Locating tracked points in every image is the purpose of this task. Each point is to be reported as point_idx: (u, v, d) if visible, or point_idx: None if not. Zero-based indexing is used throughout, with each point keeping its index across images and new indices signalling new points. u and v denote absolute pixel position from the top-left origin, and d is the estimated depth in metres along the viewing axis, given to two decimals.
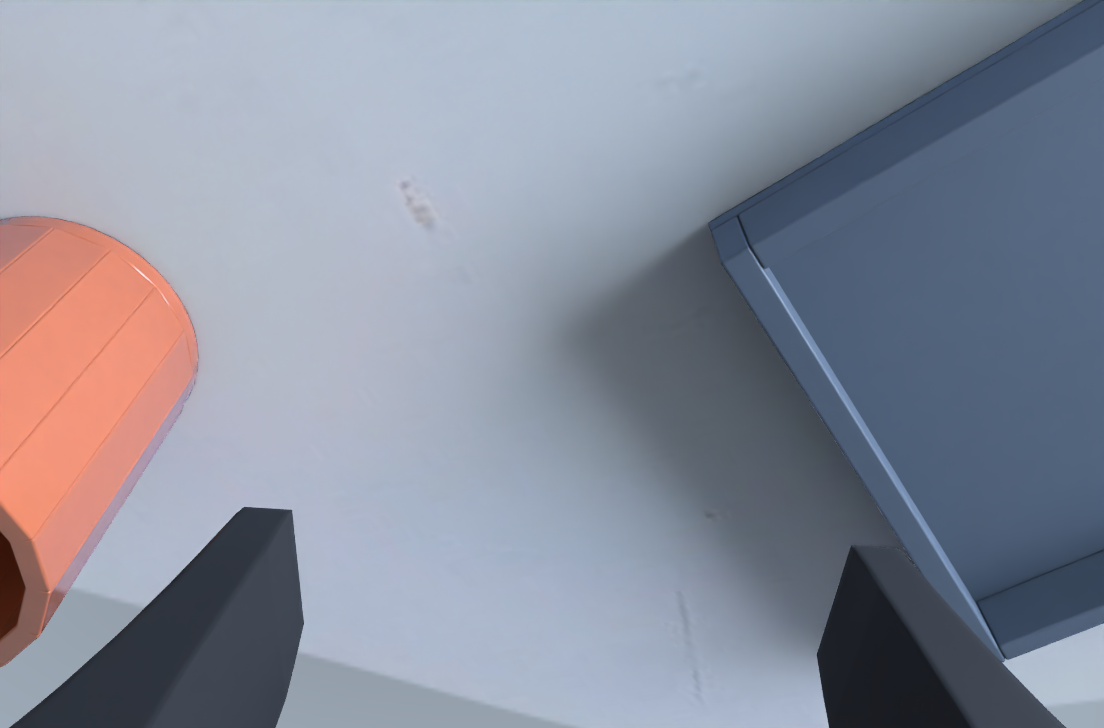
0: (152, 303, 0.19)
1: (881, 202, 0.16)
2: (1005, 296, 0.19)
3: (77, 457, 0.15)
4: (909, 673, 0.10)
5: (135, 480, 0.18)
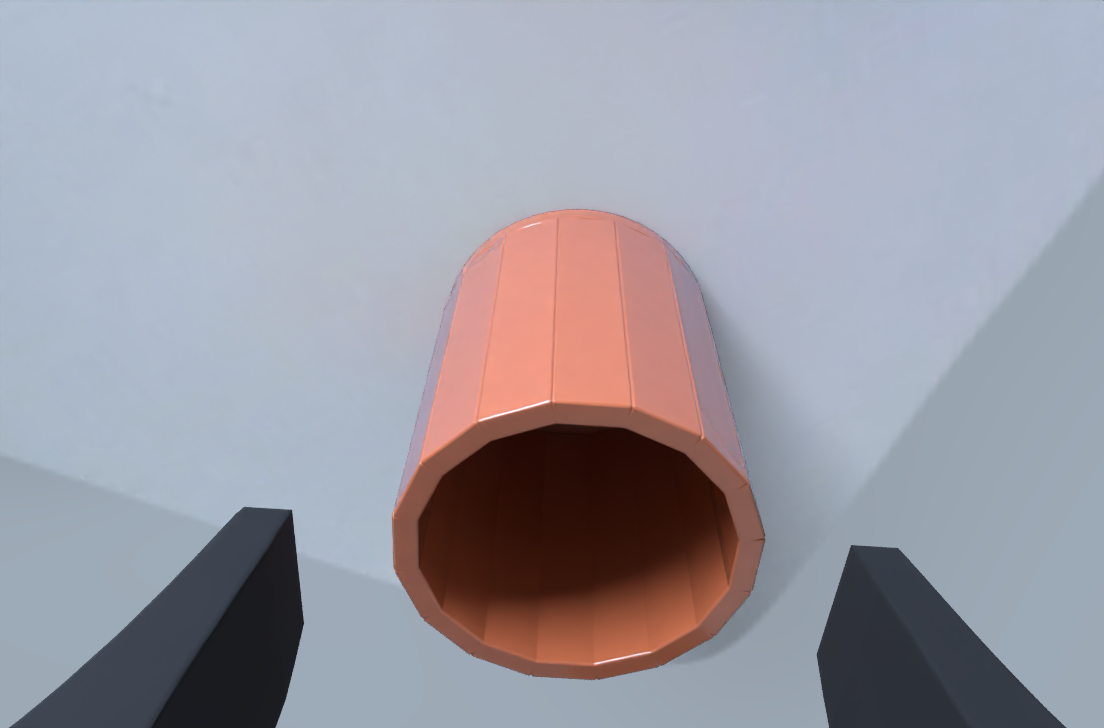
0: (512, 240, 0.18)
1: None
2: None
3: (538, 339, 0.14)
4: (909, 673, 0.10)
5: (662, 301, 0.16)
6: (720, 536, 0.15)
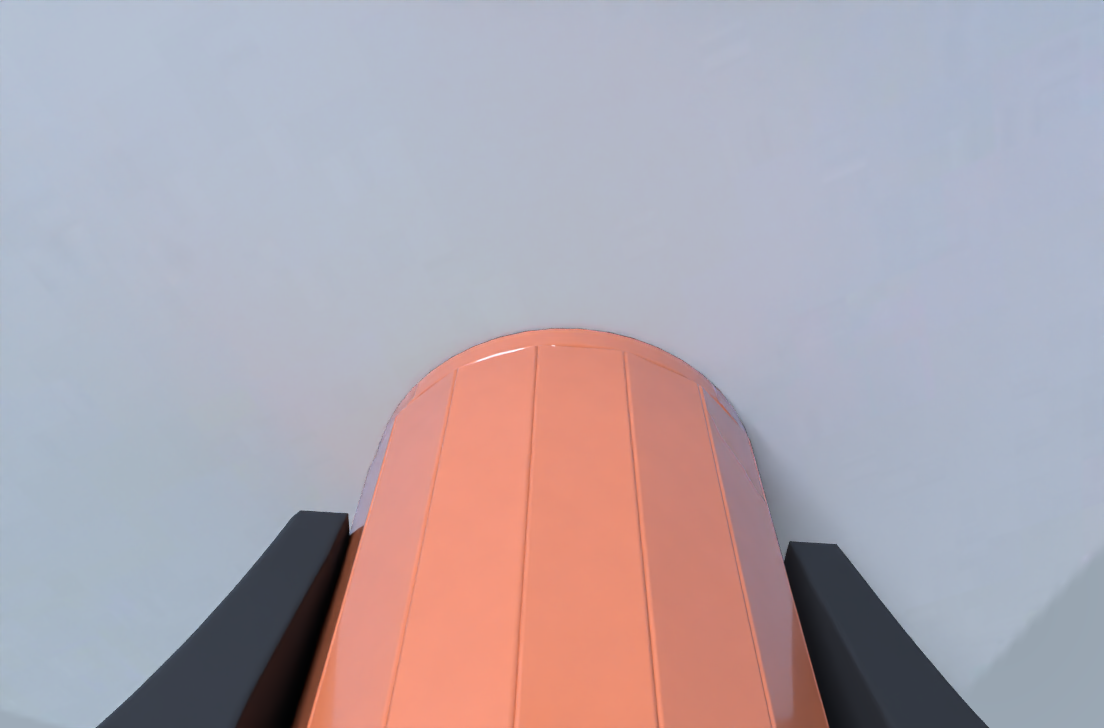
0: (466, 382, 0.12)
1: None
2: None
3: (492, 631, 0.08)
4: (836, 669, 0.10)
5: (706, 513, 0.10)
6: None
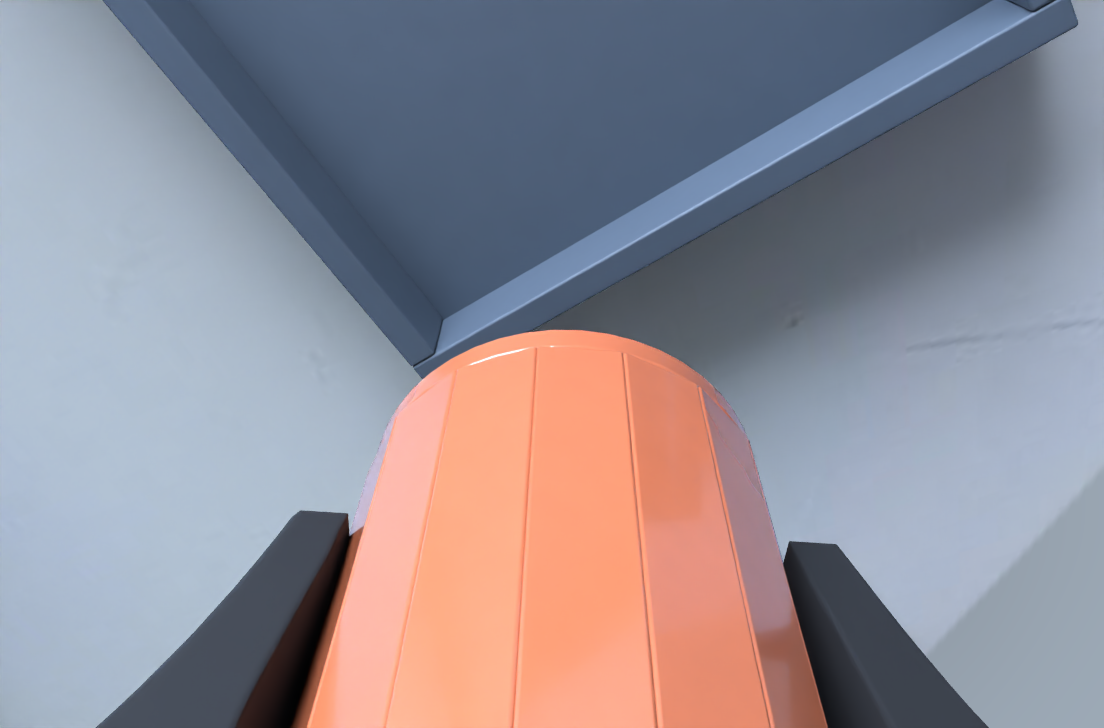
0: (466, 383, 0.12)
1: (358, 267, 0.17)
2: (501, 65, 0.17)
3: (491, 633, 0.08)
4: (836, 669, 0.10)
5: (705, 514, 0.10)
6: None
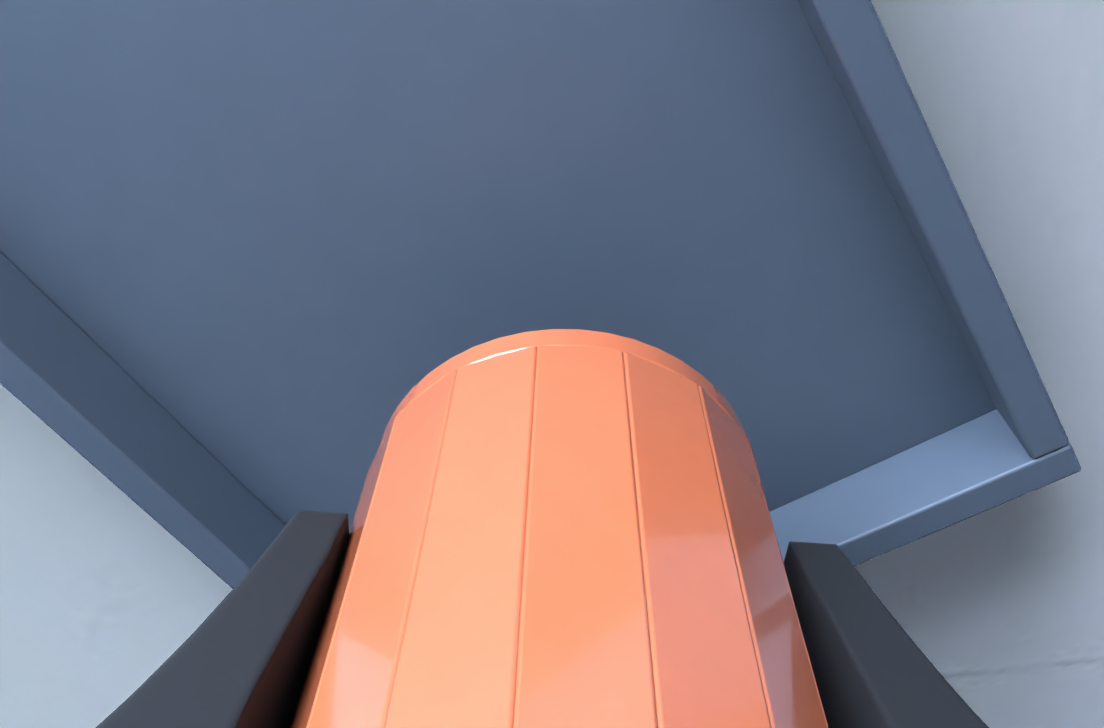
0: (466, 382, 0.12)
1: None
2: None
3: (492, 631, 0.08)
4: (836, 669, 0.10)
5: (705, 513, 0.10)
6: None
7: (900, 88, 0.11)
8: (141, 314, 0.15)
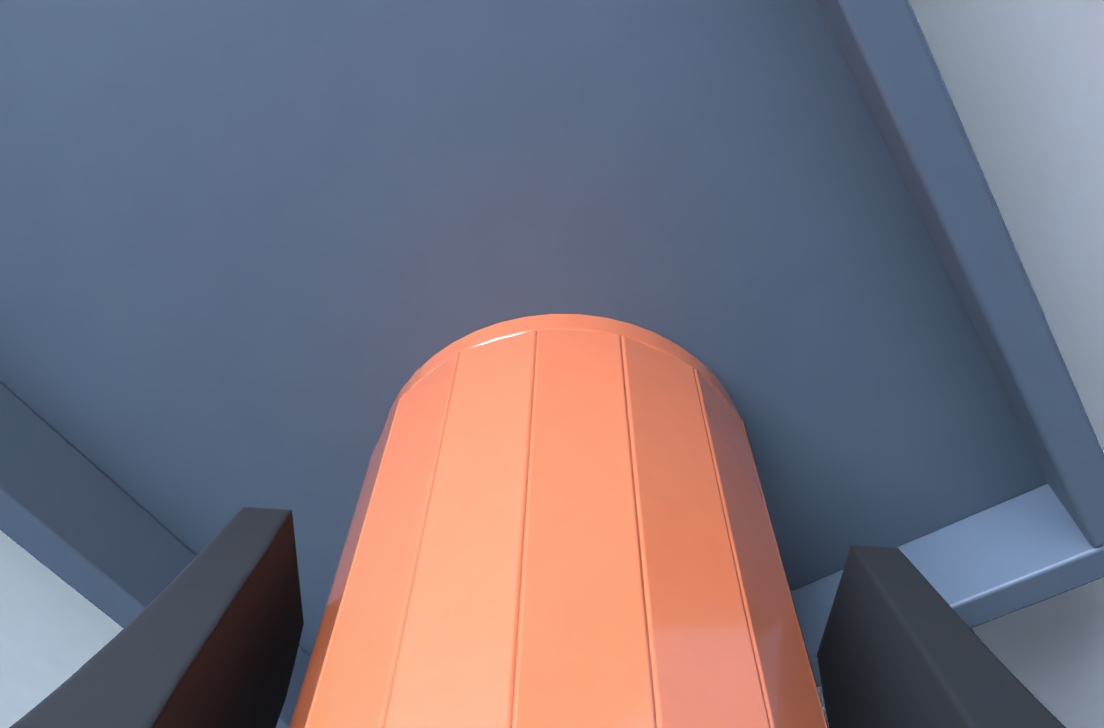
0: (467, 365, 0.12)
1: None
2: None
3: (494, 594, 0.08)
4: (909, 673, 0.10)
5: (699, 487, 0.10)
6: None
7: (956, 138, 0.10)
8: (84, 381, 0.13)
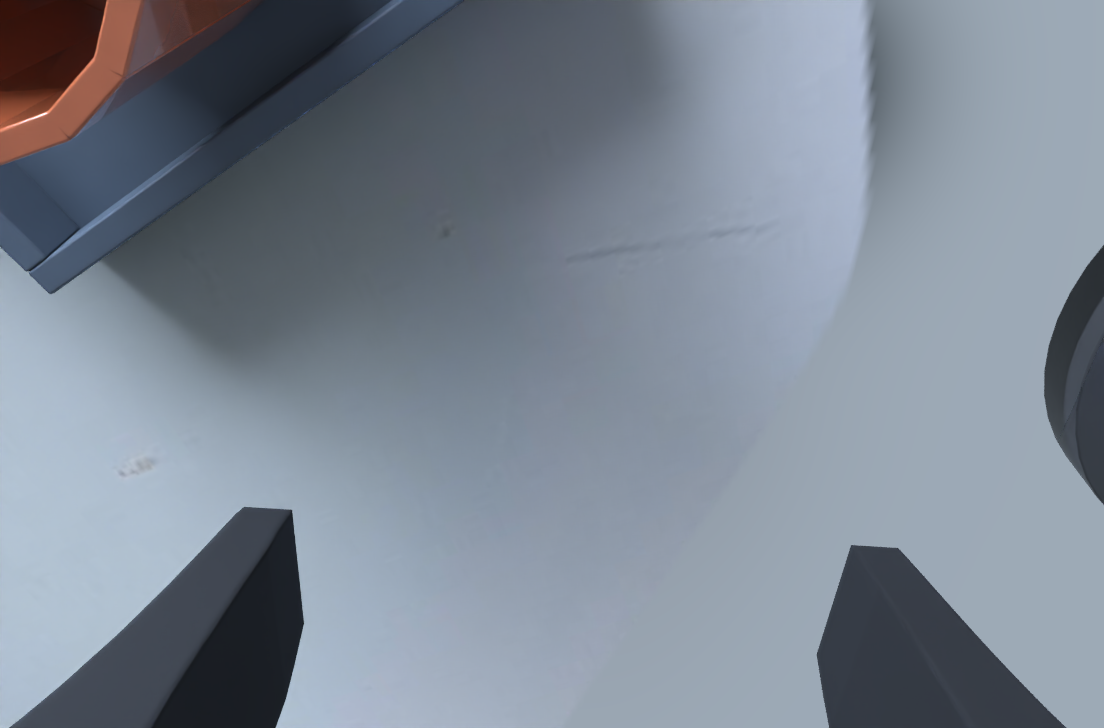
0: None
1: None
2: None
3: None
4: (909, 673, 0.10)
5: None
6: None
7: None
8: None
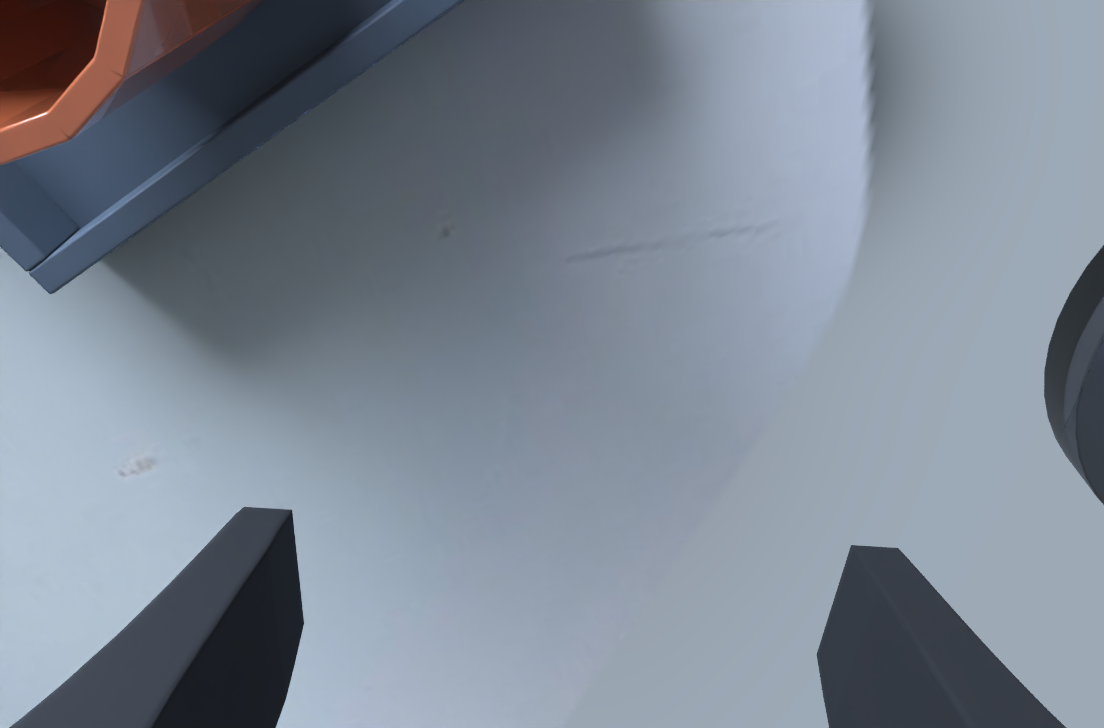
0: None
1: None
2: None
3: None
4: (909, 673, 0.10)
5: None
6: None
7: None
8: None
